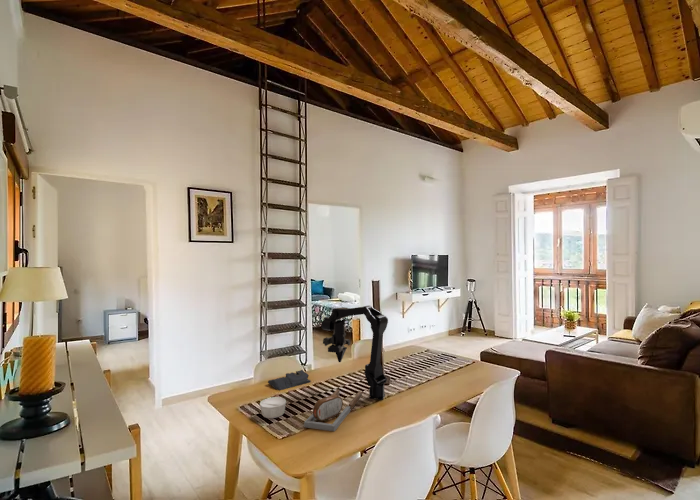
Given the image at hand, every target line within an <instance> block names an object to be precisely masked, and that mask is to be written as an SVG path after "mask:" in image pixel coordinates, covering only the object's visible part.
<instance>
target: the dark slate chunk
mask: <svg viewBox="0 0 700 500" xmlns="http://www.w3.org/2000/svg"><path fill="white" fill-rule="evenodd" d="M311 381H312V380H311V379H309V374H308V373H307V372H306V371H304V370H303V369H300V370H297V371H295V372H293V371H292V372H290V373H289V372H287V373H285V376H281V377H279V378H274V379H270V380H267V383H268V385H269V386H271V387H272V388H274V389H275V390H277V391H283V390H287V389H291V388H294V387H297V386H302V385H305V384H309V383H311Z"/></svg>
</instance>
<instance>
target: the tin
mask: <svg viewBox="0 0 700 500" xmlns="http://www.w3.org/2000/svg"><path fill="white" fill-rule="evenodd" d="M331 395H332V394H331ZM331 395H329V396H325V397H323V398H320V399H318V400H317V401H316V403H315V404H314V406H313V407H312V414H313V416H314V418H316V419H315V420H318V421H319V422H321V421H326V420H328V419H330V417H331V418H333V417H336V416H337V414H338V415H340V414H341V412H342V411H343V410H342V409H343V404H344V403H343V398H342V397H340V396H339V395H338V396H337V395H332V396H331ZM335 415H336V416H335ZM325 419H326V420H325Z"/></svg>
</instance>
